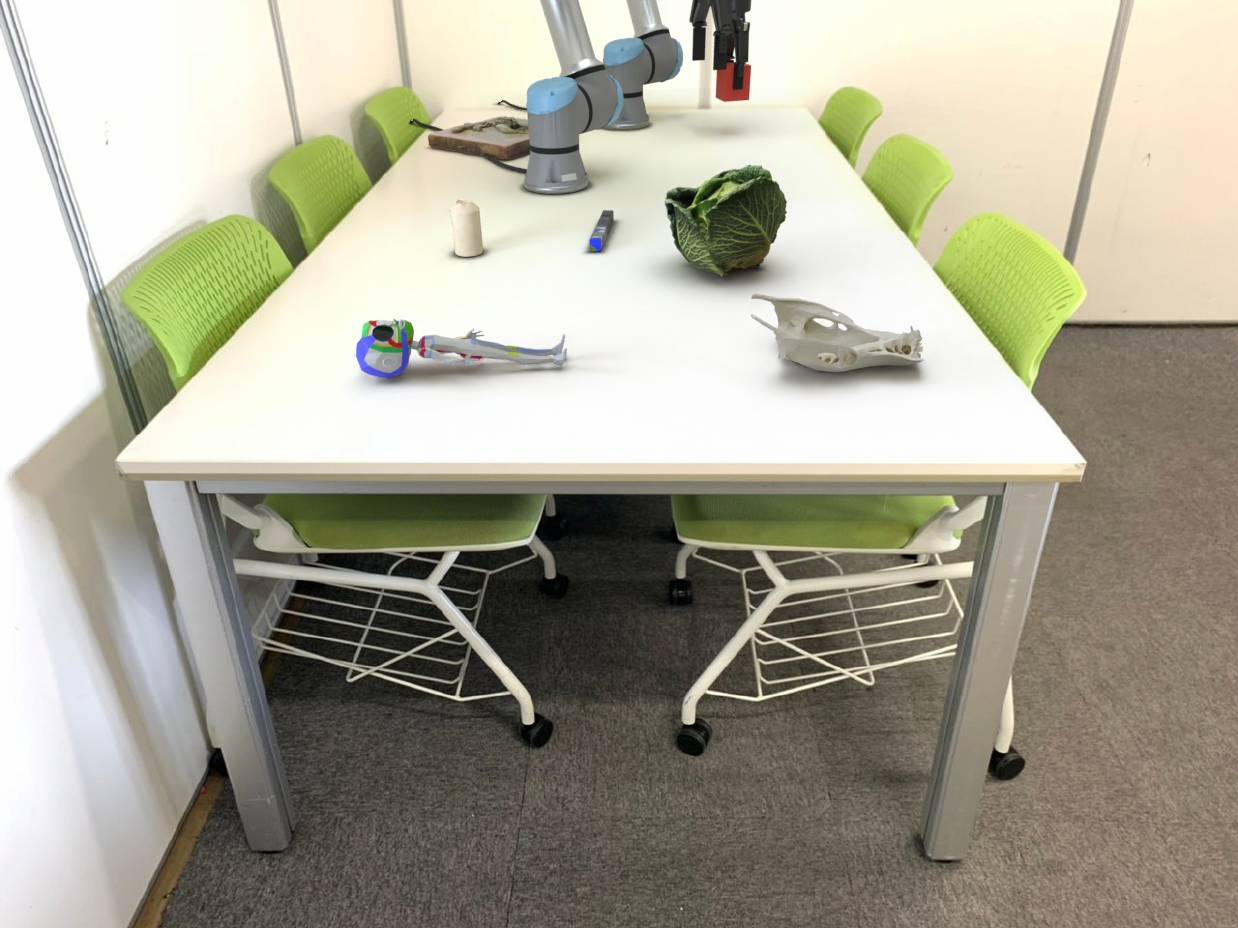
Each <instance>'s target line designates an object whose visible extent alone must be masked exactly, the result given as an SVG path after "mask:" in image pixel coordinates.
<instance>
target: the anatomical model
mask: <svg viewBox="0 0 1238 928" xmlns="http://www.w3.org/2000/svg"><path fill="white" fill-rule="evenodd" d="M750 298H751V300H762V301H766V302H770V303H771V305H773V307H774V313H775V314H776V318H777V327H776V326H774V325H772V324H770V323H768V322H767V321H765V320H763V319H762V318H761V317H758V316H757V315H755V314H753V313H751V314H750V317H751V319H753V320H755V321H756V322H758V323H760V324H761V325H762V326H764V327H766V328H767V329H769V330H770V331H772V332H773V334H774V336H775V337H774V338H775V341H776V344H777V351H778V353H777V358H778V359H782V360H788V361H792V362H794V363H798V364H800V365H802V366H803V367H805V368H808V369H811V370H812V371H821V372H828V373H844V372H849V371H853V370H857V369H862V368H868V367H877V366H878V367H880V366H912V365H915V364H919V363H922V362H924V361H925V359H924V358H921V357H922V356H921V353H923V351H924V346H921V345H922V343H921V341H922V340H923V337H922V334H921V331H920V330H919V329H916V330H914V327H913V325H910V327H909V329H910V332H902V333H896V332H893V331H884V330H876V329H870V328H864V327H862V326H860V325H858V324H855V322H854V320H853V319H852V318H850V317H849V316H848V315H846V314H844V313H843V312H841V311H838V310H836V309H833V308H831V307H829V306H826V305H824V304H822V303H820V302H819V303H818V302H816V301H815V302H814V301H811V300H806V299H802V298H799V297H777V296H771V295H766V294H761V293H753V294H752V295H751V297H750ZM836 314H838V315H836ZM815 319H819V320H820V319H821V320H822V319H823V320H826V321H830V322H831V323H832V325H830V326H825V325H823V324H820V323H819V322H817V321H815ZM839 325H843V326H844V327H845V328H846V330H844V329H842V328H840V327H839Z"/></svg>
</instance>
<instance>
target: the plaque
mask: <svg viewBox="0 0 1238 928" xmlns="http://www.w3.org/2000/svg"><path fill="white" fill-rule="evenodd" d="M427 143H428V146H429V147H431V148H436V149H440V150H446V151H451V152H452V151H453V152H458V153H463V154H470V155H474V156H482V157H484V156H483V154H484V153H486V154H488V155H490V156H492V157H493V158H495V159H497V160H506V161H508V160H511V159H516V158H520V157H523V156H526V155H530V142H529V129H528V118H520V117H514V116H507V115H503V116H502V115H501V116H494V117H490V118H487V119H484V120H480V121H477V122H464V123H463V124H459V125H456V126H452V127H448V128H446V129H443V130H442V131H434V132H431V133H429V134H428V135H427Z"/></svg>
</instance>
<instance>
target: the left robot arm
mask: <svg viewBox="0 0 1238 928" xmlns="http://www.w3.org/2000/svg"><path fill="white" fill-rule="evenodd" d="M539 3H540V5H541V9H542V11H543V12H542V13H543V15H544V18H545V22H546V24H547V29H548V32H549V35H550V38H551V41H552V43H553V47H554V50H555V53H556V56H557V60H558V63H559V67H560V69H561V70H560V73H559V76H553V77H551V78H543V79H540V80H537V81H535V82H533V83H531V84H530V85H529V86H528V88H527V90H526V105H525V108H527V111H526V113H527V114H526V115H527V119H528V129H529V142H530V153H529V157H528V162H527V168H523V167H518V166H515V165H510V164H507V163H505V162H503V161H501V160H500V159H497V158H493V157H492V156H490V155H488V154H486V153H484V154H483V156H482V157H485V158H486V159H488V160H489V161H491V162H493V163H495V164H496V165H498V166H500V167H503V168H505V169H508V170H511V171H515V172H519V173H524V174H525V175H524V180H523V183H524V188H525V189H526V190H527V191H530V192H531V193H535V194H536V193H537V194H543V195H544V194H545V195H562V194H570V193H576V192H579V191H583V190H584V189H586V188H587V187H589V175H588V173H587V171H586V168H585V164H584V161H583V158H582V156H581V153H580V135H582V134H585V133H589V132H592V131H596V130H601V129H605V128H604V127H606V126H608V125H611V124H612V123H614V122H615V121H616V120H617V118H618V117H619V115H620V112H621V110H622V107H623V92H622V89H621V86H620V84H619V82H618V81H617V80H616V79H614V77H613V76H611V75H608V74H607V72H606V69H605V65H604V63H603V61H601V60H599V59H598V58H597V57H596V54H595V51H594V48H593V45H592V41H591V37H590V34H589V31H588V28H587V25H586V21H585V18H584V15H583V11H582V7H581V3H580V0H539ZM710 10H711V14H712V19H713V24H714V31H713V34H712V36H713V58H712V59H713V60H712V61H713V62H712V70H713V71H717V70H726V69H727V47H728V35H729V33H732V32H733V24H732V15H731V6H730V0H692V2H691V7H690V13H689V18H688V21H689V23H690V24H691V27H692V48H691V49H692V50H691V52H692V55H691V61H693V62H696V61H697V62H698V61H706V44H707V43H706V39H707V27H708V23H707V17H708V14H709V11H710ZM412 118H413V117H412ZM409 123H410V125H412V124H413V123H415V124H417V125H418V126H420V127H424V128H427V129H430V130H434V131H435V132H438V131H442V130H444V129H443V128H440V127H438V126H435V125H431V124H427V123H424V122H421V121H419V120H418V119H416V118H413V121H411V119H410V120H409V122H408V124H409Z"/></svg>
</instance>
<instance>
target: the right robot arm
mask: <svg viewBox="0 0 1238 928" xmlns="http://www.w3.org/2000/svg"><path fill="white" fill-rule="evenodd" d="M625 1H626V4H627V9H628V12H629V18H630V20H631V24H632V28H633V31H634V35H633V37H626V38H618V39H613V40H611V41H609V42H607V43H606V44H605V46H604V47H603V55H602V56H603V58H602V62H603V63H604V65H605V69H606V72H607V74H608V75H611V76H613V77H614V79H616V80H617V81H618V82H619V84H620V86H621V89H622V92H623V107H622V110H621V112H620V115H619V117H618V118H617V120H616V121H615V122H614V123H612V124H611V125H608V126H606V127H604V128H603V129H605V130H612V131H634V130H640V129H645V128H647V127H649V125H650V115H649V113H647V108H646V104H645V100H644V86H646V85H650V84H655V83H664V82H667V81H670V80H673V79H674V78H676V77H677V76H678V75H679V74H680V72H681V67H682V66H683V62H684V51H683V47H682V45H681V43H680V42H679V41H678V40H677V39H676V38H675V37H672V36H671V32H670V28H669V27H667V26H666V25H664V24H663V21H662V18H661V17H662V16H661V13H660V9H659V6H658V2H657V0H625ZM730 6H731V15H732V24H733V32H732V33H729V35H728V47H727V63H732V62H734V63H733V64H734V75H733V90H739V89H743V77H744V64H745V63H746V64H747V63H749V52H750V51H749V49H750V48H749V47H750V29H751V22H749V21H746V13H749V12H750V11H751V10H752V0H730ZM501 100H502V101H501V102H499V101H498V102H497V105H499V106H500V105H501V104H503V103H504V104H506V105H507V106H509V107H512V108H514V109H518V110H521V111H526V112H527V108H526V107H524V106H519V105H516V104H513V103H510V102H509V101H507V100H506V99H501Z"/></svg>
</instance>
